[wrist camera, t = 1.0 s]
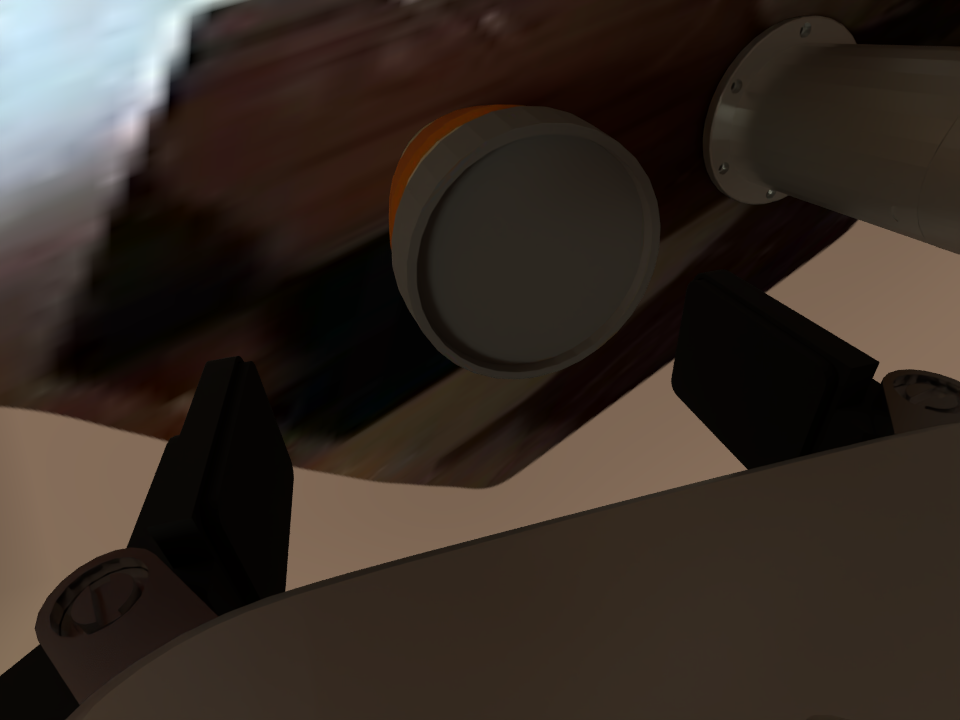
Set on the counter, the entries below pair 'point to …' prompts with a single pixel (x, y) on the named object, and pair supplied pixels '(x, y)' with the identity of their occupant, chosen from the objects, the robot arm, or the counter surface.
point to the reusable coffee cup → (520, 237)
